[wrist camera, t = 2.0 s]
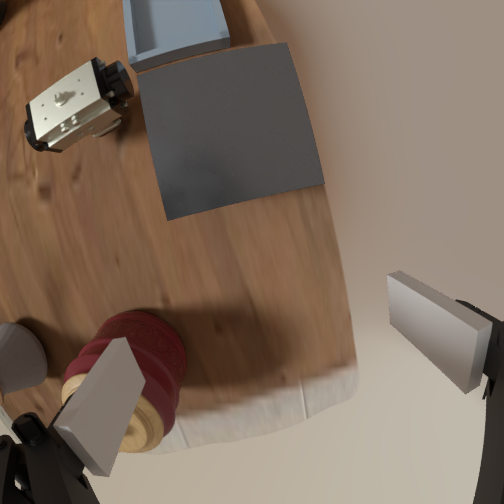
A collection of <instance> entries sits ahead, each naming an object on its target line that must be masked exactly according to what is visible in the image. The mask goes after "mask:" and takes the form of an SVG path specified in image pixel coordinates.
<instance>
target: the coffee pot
mask: <svg viewBox="0 0 504 504" xmlns="http://www.w3.org/2000/svg"><path fill="white" fill-rule="evenodd" d="M47 368H48V364H47V359H46V355H45V352H44V349H43V346H42V345H41V343H40V341H39V340H38V338H37V337H36V336H35V335H34V334H33V333H32V332H31V331H30V330H28V329H27V328H25V327H23V326H22V325H19V324H17V323H8V322H6V323H4V324H2V325H0V405H2V404H3V401H4V398H3V397H4V395H5V394H7V393H10V392H14V391H18V390H21V389H25V388H29V387H32V386H36V385H39V384H41V383H42V382H43V381H44V380H45V378H46V376H47Z"/></svg>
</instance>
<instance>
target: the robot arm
mask: <svg viewBox="0 0 504 504" xmlns="http://www.w3.org/2000/svg"><path fill="white" fill-rule="evenodd" d="M6 7H7V5H6V2H5V1H4V0H0V24H1V22H2V20H3V18H4V15H5V12H6ZM387 279H388V293H389V311H390V324H391V325H392V326H393V327H394V328H396V329H397V330H398V331H399V332H400V333H401V334H402V335H403V336H404V337H405V338H407V339H408V340H409V341H410V342H411V343H412V344H413V345H414V346H415V347H416V348H417V349H419V350H420V351H421V352H422V353H423V354H424V355H425V356H426V357H427V358H428V359H429V360H430V361H431V362H432V363H433V364H435V366H437V367H438V368H439V369H440V370H441V371H442V372H443V373H444V374H445V375H446V376H447V377H448V378H449V379H450V380H451V381H452V382H453V383H454V384H456V386H457V387H459V389H460V390H461V391H463V392H464V394H467V393H469V392H470V391H472V390H473V389H475V388H476V387H478V386H480V382H481V378H482V374H483V373H484V374H485V375H486V376H488V381H487V385H486V388H485V392H484V395H483V399H485V397H486V395H487V398H486V422H485V435H484V445H483V453H482V460H481V467H480V472H479V478H478V483H477V488H476V492H475V497H474V501H473V504H504V321H503V322H501V321H500V320H498V319H496V318H494V317H493V316H491V315H489V314H487V313H485V312H484V311H481V310H480V309H479V308H477V307H476V308H475V306H473V305H471V304H469V303H468V302H465V301H461V300H453V299H451V298H449V297H448V296H446V295H444V294H442V293H440V292H439V291H437V290H435V289H433V288H431V287H430V286H427V285H426V284H424V283H422V282H420V281H418V280H417V279H415V278H413V277H411V276H409V275H407V274H405V273H403V272H402V271H397V272H394V273H391V274H387ZM145 382H146V381H145V379H144V377H143V375H142V373H141V370H140V368H139V366H138V364H137V362H136V360H135V357H134V355H133V353H132V351H131V349H130V346H129V344H128V342H127V339H126V337H123V338H117V339H113V340H112V341H111V342H110V344H109V345H108V346H107V348H106V349H105V351H104V352H103V353H102V355H101V356H100V357H99V359H98V360H97V362H96V363H95V364H94V366H93V367H92V369H91V370H90V371H89V373H88V374H87V376H86V377H85V378H84V380H83V381H82V383H81V384H80V386H79V387H78V389H77V390H76V391H75V392H74V393H73V394H71V395H70V396H69V397H68V398H67V400H66V401H65V403H64V404H63V405H64V406H62V407H61V409H60V410H59V411H60V412H58V413H57V414H56V416H55V417H54V419H53V420H52V422H51V423H50V425H49V427H48V428H46V427H45V426H44V424H43V423H42V421H41V420H40V419H39V417H38V416H37V414H36V413H33V412H28V413H25V414H23V415H21V416H19V417H18V418H17V419H16V420H15V421H14V422H13V424H12V427H11V429H12V430H13V431H14V433H15V434H16V435H17V437H18V438H19V439H20V441H21V442H22V443H21V444H16V443H15V442H14V441H13V440H12V438H11V437H10V436H9V435H2V436H0V504H100V503H99V501H98V499H97V497H96V495H95V493H94V491H93V489H92V487H91V485H90V483H89V481H88V479H87V477H86V476H85V475H84V474H83V472H82V471H83V469H84V467H86V468H87V469H88V470H89V471H90V472H91V473H92V474H93V475H97V476H105V477H109V476H110V473H111V470H112V467H113V464H114V462H115V459H116V456H117V453H118V451H119V448H120V445H121V443H122V440H123V437H124V435H125V432H126V430H127V427H128V424H129V422H130V419H131V417H132V414H133V412H134V409H135V407H136V404H137V402H138V399H139V397H140V394H141V392H142V389H143V387H144V385H145ZM15 480H16V481H17V482H18V483H19V484H20V485H21V490H20V489H18V488H17V487H16V486H15Z"/></svg>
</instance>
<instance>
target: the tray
mask: <svg viewBox="0 0 504 504" xmlns="http://www.w3.org/2000/svg"><path fill="white" fill-rule="evenodd" d="M123 11H124V22H125V32H126V42H127V50H128V58H129V65H130V66H131V67H132V68H133V69H134V71H135V72H136V73H137V72H140V71H143V70H146V69H149V68H152V67H155V66H158V65H161V64H165V63H168V62H171V61H175V60H178V59H182V58H186V57H190V56H194V55H198V54H202V53H206V52H210V51H215V50H220V49H225V48H230V35H229V31H228V28H227V24H226V21H225V17H224V14H223V10H222V7H221V3H220V0H123Z"/></svg>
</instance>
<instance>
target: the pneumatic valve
mask: <svg viewBox="0 0 504 504" xmlns="http://www.w3.org/2000/svg"><path fill="white" fill-rule="evenodd" d="M133 96H134V89H133V85H132V82H131V80H130V77H129V75H128V73H127V71H126V69H125V68H124V66H123V65H122V63H121V62H120V61H115V62H114V63H112V64H110V65H108V66H106V63H105V61H104V60H103V61H100V60H99V59H98V58H97V57H95V58H94V59H92V60H90V61H88V62H87V63H85V64H83V65H82V66H80V67H79V68H77V69H75V70H74V71H72V72H71V73H69V74H68V75H66V76H65V77H63V78H62V79H60V80H59V81H57V82H56V83H55V84H53V85H52V86H50V87H49V88H48V89H46V90H45V91H44V92H42V93H41V94H40V95H38V96H37V97H36V98H34V99H33V100H32V101H31V102H29V103H28V104H27V105H26V112H27V117H28V119H27V120H26V122H25V125H24V131H25V136H26V138H27V140H28V142H29V144H30V145H31V146H32V147H33V148H34V149H35V150H37V151H40V152H42V151H51V152H57V153H61V152H62V151H63V150H65V149H67V148H68V147H70V146H71V145H73V144H74V143H76V142H77V141H79V140H81V139H82V138H84V137H85V136H87V135H89V134H92V135H93V136H94V137H99V136H101V135H103V134H105V133H106V132H108V131H110V130H112V129H114V128H115V127H117V126H119V124H120V123H121V119H118V120H117V118H119V117H121V116H122V115H124V114H126V113H127V111H129V110H128V107H127V106H128V103H127V102H126V100H128V99H129V98H131V97H133Z"/></svg>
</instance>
